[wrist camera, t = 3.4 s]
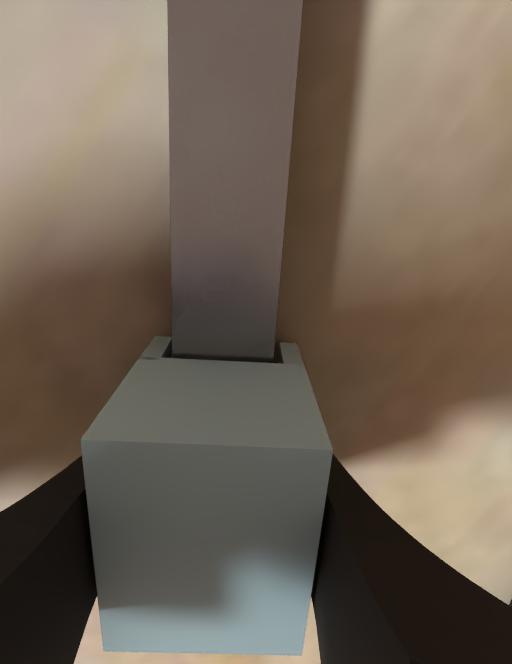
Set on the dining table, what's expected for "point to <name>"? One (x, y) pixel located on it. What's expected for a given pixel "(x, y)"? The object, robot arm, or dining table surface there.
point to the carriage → (207, 504)
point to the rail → (229, 171)
